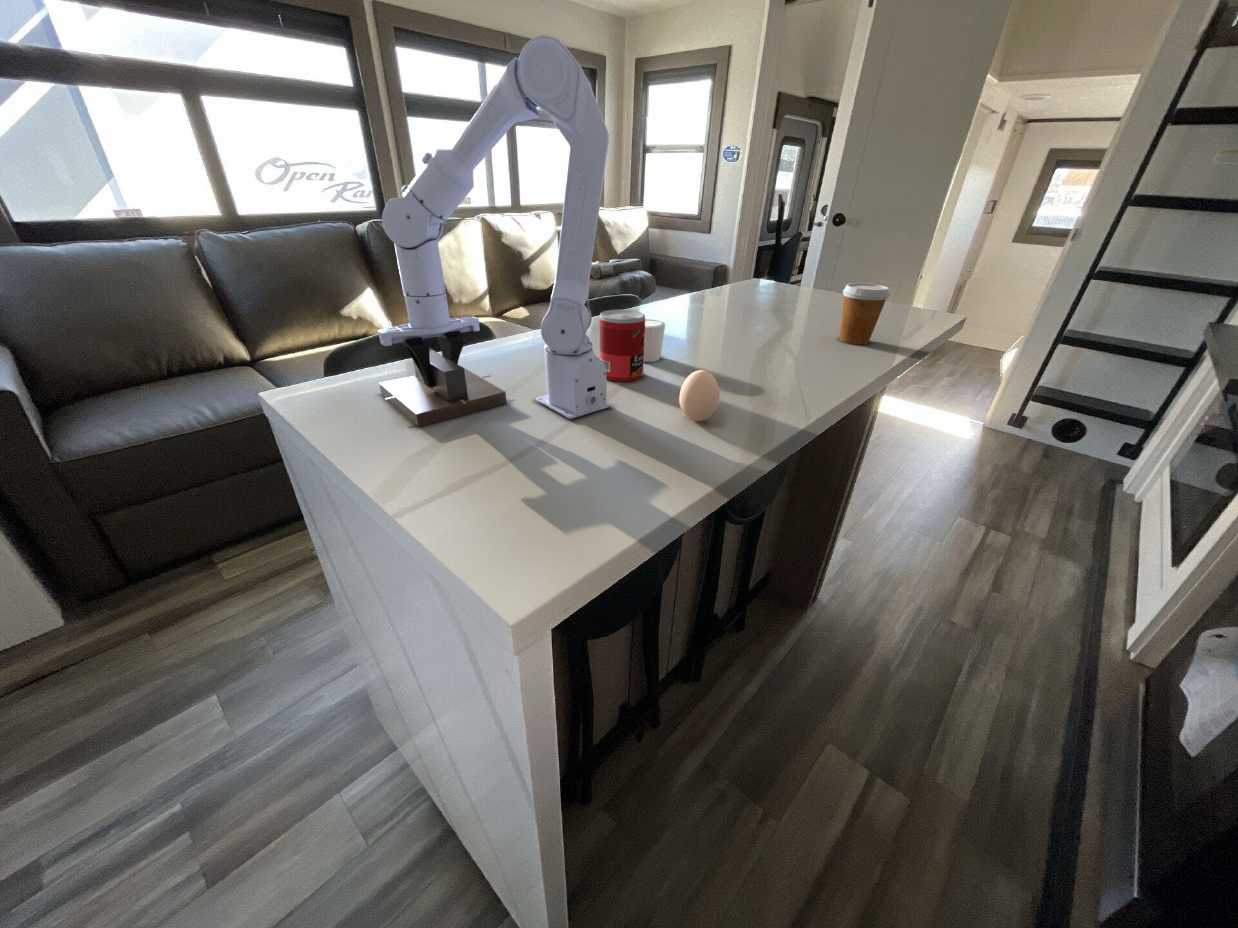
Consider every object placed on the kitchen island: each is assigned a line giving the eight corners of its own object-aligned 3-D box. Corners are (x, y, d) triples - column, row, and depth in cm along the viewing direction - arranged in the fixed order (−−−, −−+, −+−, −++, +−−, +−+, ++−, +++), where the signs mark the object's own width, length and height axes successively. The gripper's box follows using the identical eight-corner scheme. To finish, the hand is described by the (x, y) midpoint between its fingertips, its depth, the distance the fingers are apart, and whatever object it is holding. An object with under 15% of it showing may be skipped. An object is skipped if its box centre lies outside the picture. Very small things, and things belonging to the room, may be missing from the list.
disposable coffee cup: (836, 345, 110) (850, 289, 104) (828, 334, 118) (840, 282, 112) (881, 348, 108) (897, 291, 102) (869, 336, 116) (884, 283, 111)
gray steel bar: (468, 396, 74) (463, 366, 72) (449, 401, 72) (444, 370, 70) (434, 374, 83) (429, 346, 80) (416, 377, 81) (410, 349, 79)
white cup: (669, 356, 100) (671, 322, 97) (652, 365, 95) (654, 329, 92) (640, 350, 103) (641, 317, 100) (622, 358, 98) (623, 323, 95)
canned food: (639, 384, 86) (641, 320, 80) (595, 380, 87) (594, 317, 82) (645, 370, 92) (648, 310, 87) (604, 367, 94) (604, 308, 88)
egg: (722, 427, 71) (728, 376, 67) (683, 429, 70) (688, 378, 66) (709, 411, 76) (715, 363, 72) (673, 412, 75) (677, 364, 71)
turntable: (517, 402, 78) (516, 389, 77) (409, 431, 68) (405, 417, 67) (469, 374, 89) (467, 362, 88) (370, 395, 79) (366, 383, 78)
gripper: (460, 284, 77) (472, 367, 84) (363, 294, 69) (384, 385, 76) (481, 291, 73) (491, 378, 79) (379, 302, 64) (400, 399, 71)
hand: (440, 382), depth 77 cm, fingers closed on gray steel bar, 3 cm apart
